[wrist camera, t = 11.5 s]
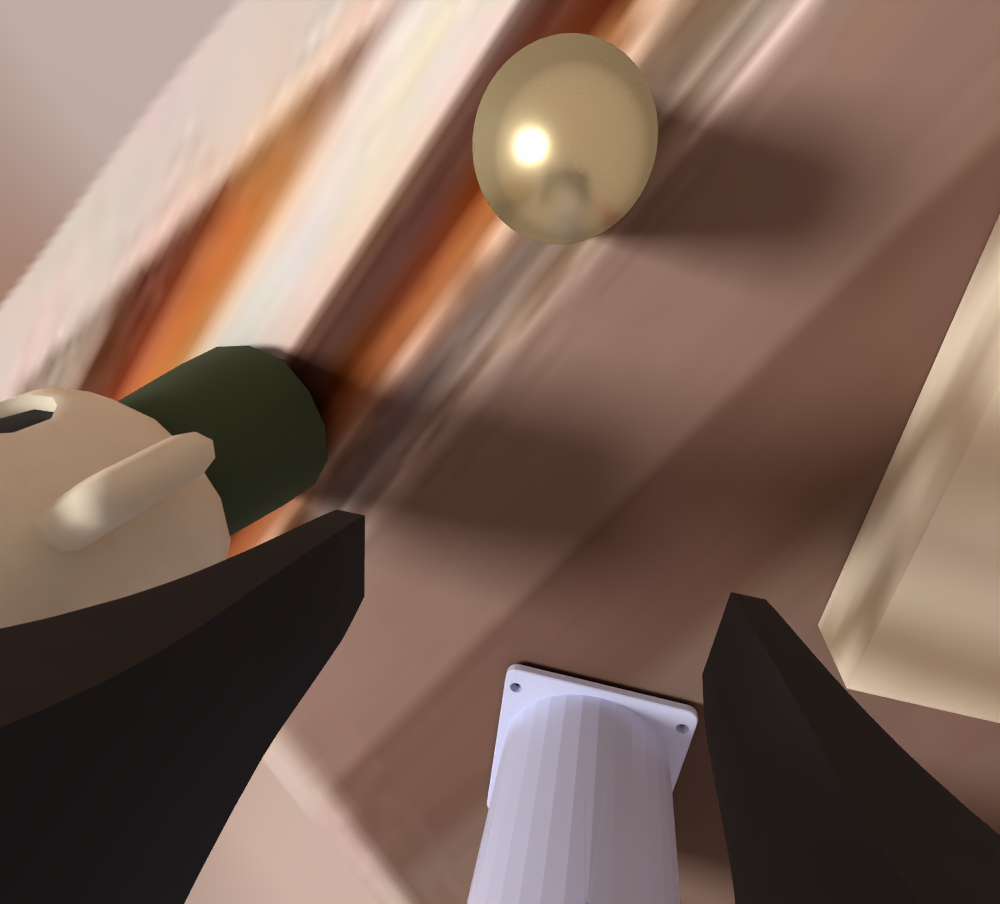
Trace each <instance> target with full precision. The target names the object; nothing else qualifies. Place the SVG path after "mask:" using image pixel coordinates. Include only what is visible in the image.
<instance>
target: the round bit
mask: <svg viewBox="0 0 1000 904" xmlns="http://www.w3.org/2000/svg"><path fill="white" fill-rule="evenodd" d="M657 144H658V121H657V112H656V108H655V103H654V99H653V96H652V94H651V91H650V88H649V86H648V84H647V82H646V80H645V78H644V76H643V74H642V73H641V71H640V70H639V69H638V67H637V66H636V65H635V63H634V62H633V61H632V60H631V59H630V58H629V57H628V56H627V55H626V54H625V53H624V52H622V51H621V50H620V49H618V48H617V47H616V46H614V45H613V44H611V43H609V42H607V41H605V40H603V39H600V38H597V37H594V36H591V35H585V34H579V33H563V34H557V35H552V36H548V37H545V38H542V39H539V40H537V41H535V42H533V43H531V44H529V45H527V46H526V47H524V48H523V49H521V50H520V51H518V52H517V53H515V54H514V55H513V56H512V57H511V58H510V59H509V60H508V61H507V62H506V63H505V64H504V65H503V66H502V67H501V68H500V70H499V71H498V72H497V73H496V75H495V76H494V78H493V79H492V81H491V82H490V84H489V85H488V87H487V89H486V91H485V93H484V95H483V97H482V100H481V103H480V105H479V108H478V111H477V115H476V119H475V124H474V131H473V160H474V167H475V172H476V176H477V179H478V182H479V185H480V188H481V190H482V192H483V194H484V196H485V199H486V200H487V202H488V203H489V205H490V207H491V208H492V210H493V211H494V212H495V213H496V214H497V216H498V217H499V218H500V219H501V220H502V221H503V222H504V223H505V224H506V225H508V226H509V227H510V228H512V229H513V230H514V231H516V232H517V233H519V234H521V235H523V236H525V237H527V238H529V239H532V240H535V241H538V242H543V243H548V244H571V243H576V242H580V241H584V240H587V239H589V238H592V237H595V236H597V235H598V234H600V233H602V232H604V231H606V230H607V229H609V228H610V227H611V226H613V225H614V224H616V223H617V222H618V221H619V220H620V219H621V218H622V217H623V216H624V215H625V214H626V213H627V212H628V211H629V210H630V209H631V208H632V206H633V205H634V204H635V202H636V201H637V199H638V198H639V196H640V195H641V193H642V191H643V189H644V187H645V186H646V184H647V182H648V179H649V176H650V174H651V171H652V168H653V165H654V161H655V157H656V151H657Z"/></svg>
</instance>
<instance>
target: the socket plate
mask: <svg viewBox="0 0 1000 904" xmlns="http://www.w3.org/2000/svg"><path fill="white" fill-rule="evenodd" d="M818 627H819V629H820V631H821V633H822V635H823V638H824V640H825V642H826V644H827V646H828V648H829V651H830V653H831V655H832V657H833V659H834V661H835V664H836V666H837V668H838V670H839V672H840V675H841V677H842V679H843V681H844V683H845V685H846V688H848V689H852V690H856V691H861V692H865V693H870V694H874V695H878V696H883V697H887V698H892V699H896V700H900V701H905V702H909V703H914V704H918V705H922V706H927V707H931V708H936V709H940V710H944V711H949V712H953V713H958V714H962V715H966V716H971V717H975V718H980V719H984V720H988V721H993V722H997V723H1000V215H999V217H998V219H997V221H996V224H995V226H994V228H993V231H992V233H991V235H990V237H989V240H988V242H987V244H986V246H985V249H984V251H983V253H982V255H981V258H980V260H979V262H978V264H977V267H976V269H975V271H974V273H973V276H972V278H971V280H970V283H969V285H968V287H967V289H966V292H965V294H964V296H963V298H962V301H961V303H960V305H959V307H958V310H957V312H956V314H955V316H954V319H953V321H952V323H951V325H950V328H949V330H948V332H947V335H946V337H945V339H944V341H943V344H942V346H941V348H940V350H939V353H938V355H937V357H936V359H935V362H934V364H933V366H932V368H931V371H930V373H929V375H928V377H927V380H926V382H925V384H924V386H923V389H922V391H921V393H920V396H919V398H918V400H917V402H916V405H915V407H914V409H913V411H912V414H911V416H910V418H909V420H908V423H907V425H906V427H905V429H904V432H903V434H902V436H901V438H900V441H899V443H898V445H897V448H896V450H895V452H894V454H893V457H892V459H891V461H890V463H889V466H888V468H887V470H886V472H885V475H884V477H883V479H882V481H881V484H880V486H879V488H878V490H877V493H876V495H875V497H874V500H873V502H872V504H871V506H870V509H869V511H868V513H867V515H866V518H865V520H864V522H863V524H862V527H861V529H860V531H859V533H858V536H857V538H856V540H855V542H854V545H853V547H852V549H851V551H850V554H849V556H848V558H847V561H846V563H845V565H844V567H843V570H842V572H841V574H840V576H839V579H838V581H837V583H836V585H835V588H834V590H833V592H832V594H831V597H830V599H829V601H828V603H827V606H826V608H825V610H824V613H823V615H822V617H821V619H820V622H819V624H818Z"/></svg>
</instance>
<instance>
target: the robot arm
mask: <svg viewBox="0 0 1000 904" xmlns="http://www.w3.org/2000/svg"><path fill="white" fill-rule="evenodd" d="M364 558H365V515H360V514H355V513H350V512H345V511H341V510H335V511H332V512H330V513H327V514H325V515H323V516H320V517H318V518H316V519H314V520H312V521H309V522H307V523H305V524H303V525H301V526H299V527H297V528H295V529H292V530H290V531H288V532H286V533H284V534H282V535H280V536H278V537H275V538H273V539H271V540H269V541H267V542H265V543H263V544H260V545H258V546H256V547H254V548H252V549H250V550H247V551H245V552H243V553H240V554H238V555H236V556H233V557H231V558H228V559H226V560H224V561H221V562H219V563H216V564H214V565H212V566H209V567H207V568H205V569H202V570H200V571H197V572H195V573H192V574H190V575H187V576H185V577H182V578H179V579H176V580H174V581H171V582H168V583H165V584H163V585H160V586H157V587H154V588H151V589H148V590H145V591H142V592H139V593H136V594H133V595H129V596H126V597H123V598H120V599H116V600H112V601H109V602H105V603H101V604H98V605H94V606H90V607H87V608H83V609H79V610H76V611H72V612H68V613H65V614H61V615H57V616H54V617H49V618H45V619H41V620H37V621H32V622H28V623H23V624H19V625H14V626H10V627H5V628H0V904H184V903H185V901H186V899H187V897H188V895H189V893H190V891H191V889H192V887H193V885H194V883H195V881H196V879H197V877H198V875H199V873H200V871H201V869H202V867H203V865H204V863H205V861H206V860H207V858H208V856H209V854H210V852H211V850H212V848H213V846H214V845H215V843H216V841H217V839H218V837H219V835H220V833H221V831H222V830H223V827H224V826H225V824H226V822H227V820H228V818H229V816H230V814H231V813H232V810H233V809H234V807H235V805H236V804H237V802H238V800H239V798H240V796H241V794H242V793H243V791H244V789H245V787H246V786H247V784H248V782H249V780H250V779H251V777H252V775H253V773H254V771H255V770H256V768H257V766H258V764H259V762H260V761H261V759H262V757H263V755H264V754H265V752H266V751H267V749H268V748H269V746H270V744H271V743H272V741H273V740H274V738H275V737H276V735H277V733H278V732H279V731H280V729H281V728H282V726H283V725H284V723H285V722H286V720H287V719H288V718H289V716H290V715H291V713H292V712H293V710H294V709H295V708H296V706H297V705H298V703H299V702H300V700H301V699H302V697H303V696H304V695H305V693H306V692H307V690H308V689H309V687H310V686H311V684H312V683H313V682H314V680H315V679H316V677H317V676H318V674H319V673H320V671H321V670H322V669H323V667H324V666H325V664H326V663H327V661H328V660H329V658H330V657H331V655H332V654H333V652H334V651H335V649H336V648H337V646H338V645H339V643H340V642H341V640H342V639H343V637H344V635H345V633H346V631H347V630H348V628H349V626H350V624H351V622H352V620H353V618H354V616H355V614H356V612H357V610H358V608H359V606H360V604H361V602H362V600H363V598H364ZM702 678H703V701H704V716H705V729H706V735H707V741H708V746H709V752H710V757H711V763H712V768H713V774H714V779H715V784H716V790H717V795H718V800H719V806H720V811H721V816H722V822H723V827H724V832H725V837H726V843H727V848H728V853H729V859H730V866H731V872H732V879H733V886H734V894H735V904H1000V835H998V834H997V833H996V832H995V831H994V830H993V829H991V828H990V827H989V826H988V825H987V824H985V823H984V822H983V821H982V820H981V819H980V818H978V817H977V816H976V815H975V814H974V813H972V812H971V811H970V810H969V809H968V808H967V807H966V806H964V805H963V804H962V803H961V802H960V801H959V800H958V799H957V798H956V797H954V796H953V795H952V794H951V793H950V792H949V791H948V790H947V789H946V788H944V787H943V786H942V785H941V784H940V783H939V782H938V781H937V780H936V779H934V778H933V777H932V776H931V775H930V774H929V773H928V772H927V771H926V770H925V769H923V768H922V767H921V766H920V765H919V764H918V763H917V762H916V761H915V760H914V759H913V758H912V757H911V756H910V755H909V754H908V753H907V752H905V751H904V750H903V749H902V748H901V747H900V746H899V745H898V744H897V743H896V742H895V741H894V740H893V739H892V738H891V737H890V736H889V735H888V734H887V733H886V732H885V731H884V730H883V729H882V728H881V727H880V726H879V724H878V723H877V722H876V721H875V720H874V719H873V718H872V717H871V716H870V715H869V714H868V713H867V712H866V711H865V710H864V709H863V708H862V707H861V706H860V705H859V704H858V703H857V702H856V701H855V700H854V699H853V697H852V696H851V695H850V694H849V693H848V692H847V691H846V690H845V689H844V688H843V687H842V686H841V684H840V683H839V682H838V681H837V680H836V679H835V678H834V677H833V676H832V674H831V673H830V672H829V671H828V670H827V669H826V668H825V667H824V665H823V664H822V663H821V662H820V661H819V660H818V659H817V658H816V656H815V655H814V654H813V653H812V652H811V651H810V649H809V648H808V647H807V646H806V645H805V644H804V643H803V641H802V640H801V639H800V638H799V637H798V636H797V634H796V633H795V632H794V631H793V630H792V629H791V627H790V626H789V625H788V624H787V623H786V622H785V620H784V619H783V618H782V617H781V616H780V615H779V614H778V612H777V611H776V610H775V609H774V608H773V607H772V606H771V605H770V604H769V603H768V602H767V601H766V600H765V599H760V598H756V597H751V596H746V595H741V594H737V593H732V592H731V594H730V597H729V599H728V602H727V605H726V608H725V611H724V614H723V617H722V620H721V622H720V625H719V628H718V631H717V634H716V637H715V640H714V643H713V645H712V648H711V651H710V654H709V657H708V660H707V663H706V666H705V668H704V671H703V674H702ZM513 683H517V684H519V685H515V684H513ZM697 723H698V715H697V712H696V710H695V709H694V708H693V707H692V706H689V705H686V704H682V703H678V702H674V701H670V700H665V699H661V698H657V697H653V696H649V695H645V694H640V693H636V692H632V691H628V690H624V689H620V688H616V687H611V686H607V685H603V684H599V683H595V682H591V681H586V680H582V679H578V678H574V677H570V676H566V675H562V674H557V673H553V672H549V671H545V670H541V669H537V668H532V667H528V666H524V665H520V664H514V665H511V666H510V667H509V668H508V670H507V674H506V679H505V686H504V693H503V699H502V706H501V713H500V719H499V726H498V733H497V739H496V746H495V753H494V760H493V766H492V773H491V780H490V786H489V793H488V800H487V806H488V808H489V811H488V815H487V819H486V824H485V828H484V832H483V837H482V841H481V845H480V849H479V854H478V858H477V862H476V867H475V871H474V875H473V880H472V884H471V888H470V893H469V897H468V901H467V904H681V899H680V886H679V873H678V860H677V847H676V834H675V821H674V809H673V796H672V793H673V790H674V787H675V784H676V781H677V779H678V776H679V773H680V770H681V768H682V765H683V762H684V759H685V757H686V754H687V751H688V748H689V745H690V743H691V740H692V737H693V734H694V732H695V729H696V726H697ZM680 724H684V726H680Z"/></svg>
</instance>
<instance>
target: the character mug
mask: <svg viewBox="0 0 1000 904" xmlns="http://www.w3.org/2000/svg"><path fill="white" fill-rule="evenodd" d="M326 461H327V448H326V432H325V425H324V423H323V421H322V419H321V416H320V414H319V412H318V410H317V408H316V406H315V403H314V401H313V399H312V397H311V395H310V392H309V391H308V389H307V388H306V387H305V386H304V385H303V383H302V382H301V381H300V380H299V379H298V377H297V376H296V375H295V374H294V373H293V371H292V370H291V369H290V368H289V367H288V365H287V364H286V363H285V362H284V361H283V360H281V359H279V358H276V357H274V356H272V355H269V354H267V353H265V352H262V351H260V350H258V349H255V348H253V347H251V346H228V347H216V348H214V349H212V350H210V351H208V352H206V353H204V354H202V355H200V356H197V357H195V358H193V359H191V360H189V361H187V362H185V363H183V364H181V365H179V366H177V367H176V368H174V369H172V370H171V371H169V372H167V373H165V374H164V375H162V376H160V377H159V378H157V379H155V380H153V381H152V382H150V383H148V384H147V385H145V386H143V387H141V388H140V389H138V390H136V391H135V392H133V393H131V394H130V395H128V396H126V397H124V398H123V399H121V400H119V401H118V402H117V401H115V400H113V399H110V398H107V397H104V396H101V395H98V394H95V393H92V392H87V391H80V390H72V389H65V388H57V387H52V388H43V389H38V390H33V391H30V392H27V393H24V394H21V395H19V396H16V397H13V398H10V399H7V400H4V401H1V402H0V628H5V627H10V626H14V625H19V624H23V623H28V622H32V621H37V620H41V619H45V618H49V617H54V616H57V615H61V614H65V613H68V612H72V611H76V610H79V609H83V608H87V607H90V606H94V605H98V604H101V603H105V602H109V601H112V600H116V599H120V598H123V597H126V596H129V595H133V594H136V593H139V592H142V591H145V590H148V589H151V588H154V587H157V586H160V585H163V584H165V583H168V582H171V581H174V580H176V579H179V578H182V577H185V576H187V575H190V574H192V573H195V572H197V571H200V570H202V569H205V568H207V567H209V566H212V565H214V564H216V563H219V562H221V561H224V560H226V559H227V554H228V550H229V545H230V541H231V540H230V536H231V535H232V534H234V533H236V532H238V531H239V530H241V529H243V528H245V527H246V526H248V525H250V524H252V523H253V522H255V521H257V520H258V519H260V518H262V517H264V516H265V515H267V514H269V513H271V512H272V511H274V510H276V509H278V508H279V507H281V506H283V505H285V504H286V503H288V502H289V501H291V500H292V499H294V498H295V497H297V496H298V495H299V494H301V493H302V492H304V491H305V490H307V489H308V488H310V487H311V486H313V485H314V484H315V483H316V481H317V479H318V477H319V475H320V473H321V471H322V469H323V467H324V465H325V463H326Z"/></svg>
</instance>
